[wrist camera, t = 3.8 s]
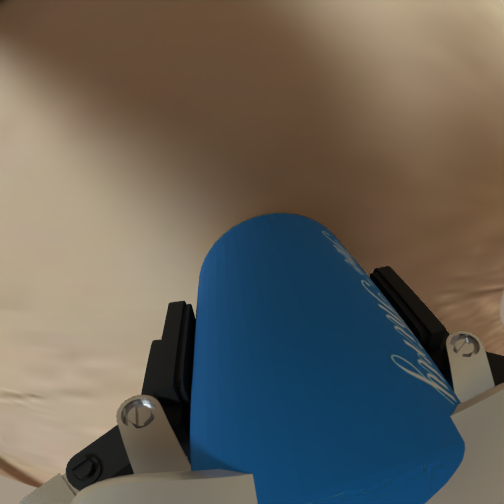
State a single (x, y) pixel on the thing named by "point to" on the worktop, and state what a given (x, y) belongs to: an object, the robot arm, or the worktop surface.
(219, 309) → the beverage can
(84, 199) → the worktop surface
